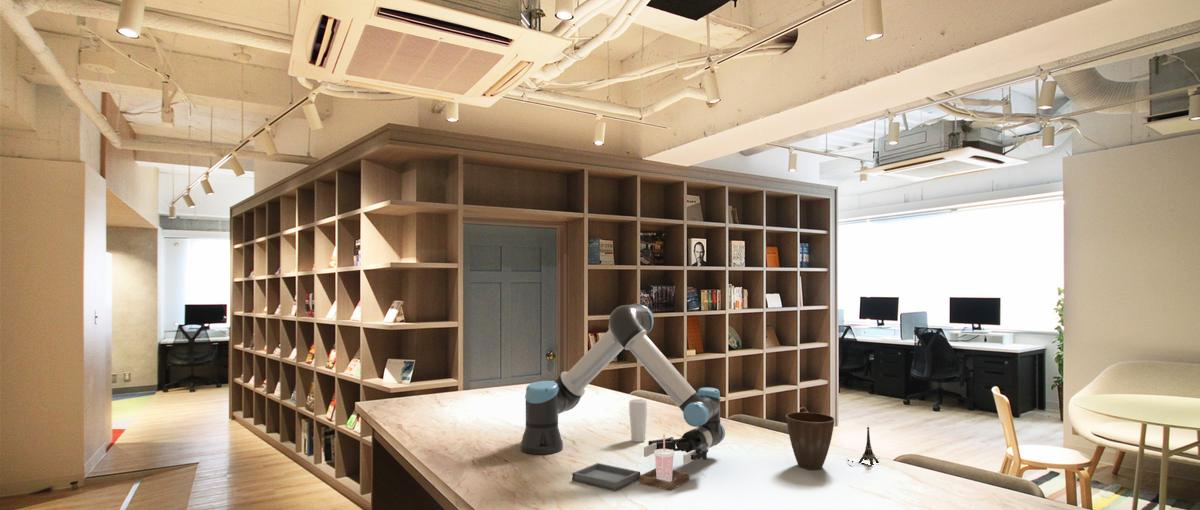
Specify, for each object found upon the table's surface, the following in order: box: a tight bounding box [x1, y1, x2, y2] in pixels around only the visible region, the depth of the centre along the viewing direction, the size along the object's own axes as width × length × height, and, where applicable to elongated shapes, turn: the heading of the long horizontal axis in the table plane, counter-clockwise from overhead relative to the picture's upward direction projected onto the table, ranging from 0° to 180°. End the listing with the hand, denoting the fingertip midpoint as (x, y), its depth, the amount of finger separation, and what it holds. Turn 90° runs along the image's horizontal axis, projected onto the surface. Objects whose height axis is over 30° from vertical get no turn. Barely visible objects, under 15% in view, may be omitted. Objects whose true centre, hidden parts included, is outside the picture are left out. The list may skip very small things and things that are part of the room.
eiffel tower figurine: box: [858, 426, 880, 465], centre depth 206 cm, size 15×10×13 cm
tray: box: [571, 462, 641, 492], centre depth 188 cm, size 16×13×2 cm
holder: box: [638, 467, 690, 491], centre depth 186 cm, size 11×11×2 cm
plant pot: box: [785, 411, 835, 471], centre depth 202 cm, size 15×15×16 cm
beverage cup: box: [653, 434, 675, 482], centre depth 187 cm, size 6×6×14 cm
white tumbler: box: [628, 398, 648, 443], centre depth 235 cm, size 7×7×15 cm
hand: (664, 455), depth 186 cm, fingers open, 13 cm apart
